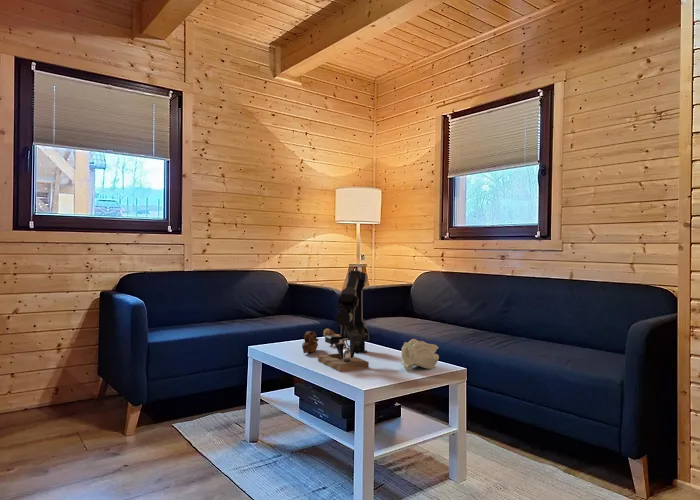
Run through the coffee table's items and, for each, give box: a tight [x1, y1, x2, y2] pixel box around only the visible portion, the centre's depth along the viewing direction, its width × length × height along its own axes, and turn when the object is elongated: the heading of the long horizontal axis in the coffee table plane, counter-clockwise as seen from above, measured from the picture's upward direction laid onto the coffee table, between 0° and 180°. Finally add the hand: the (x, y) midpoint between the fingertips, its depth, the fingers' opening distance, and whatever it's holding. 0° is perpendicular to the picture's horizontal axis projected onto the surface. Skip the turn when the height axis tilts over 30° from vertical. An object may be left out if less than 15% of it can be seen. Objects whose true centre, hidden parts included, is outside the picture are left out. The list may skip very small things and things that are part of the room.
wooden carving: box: [301, 330, 319, 354], centre depth 233 cm, size 16×5×10 cm, turn 168°
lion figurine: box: [323, 328, 350, 350], centre depth 247 cm, size 15×5×9 cm, turn 73°
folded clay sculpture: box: [400, 338, 440, 372], centre depth 206 cm, size 18×13×16 cm
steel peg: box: [343, 349, 351, 362], centre depth 207 cm, size 5×5×7 cm
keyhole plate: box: [317, 352, 370, 373], centre depth 210 cm, size 20×14×3 cm
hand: (346, 358), depth 207 cm, fingers open, 5 cm apart
